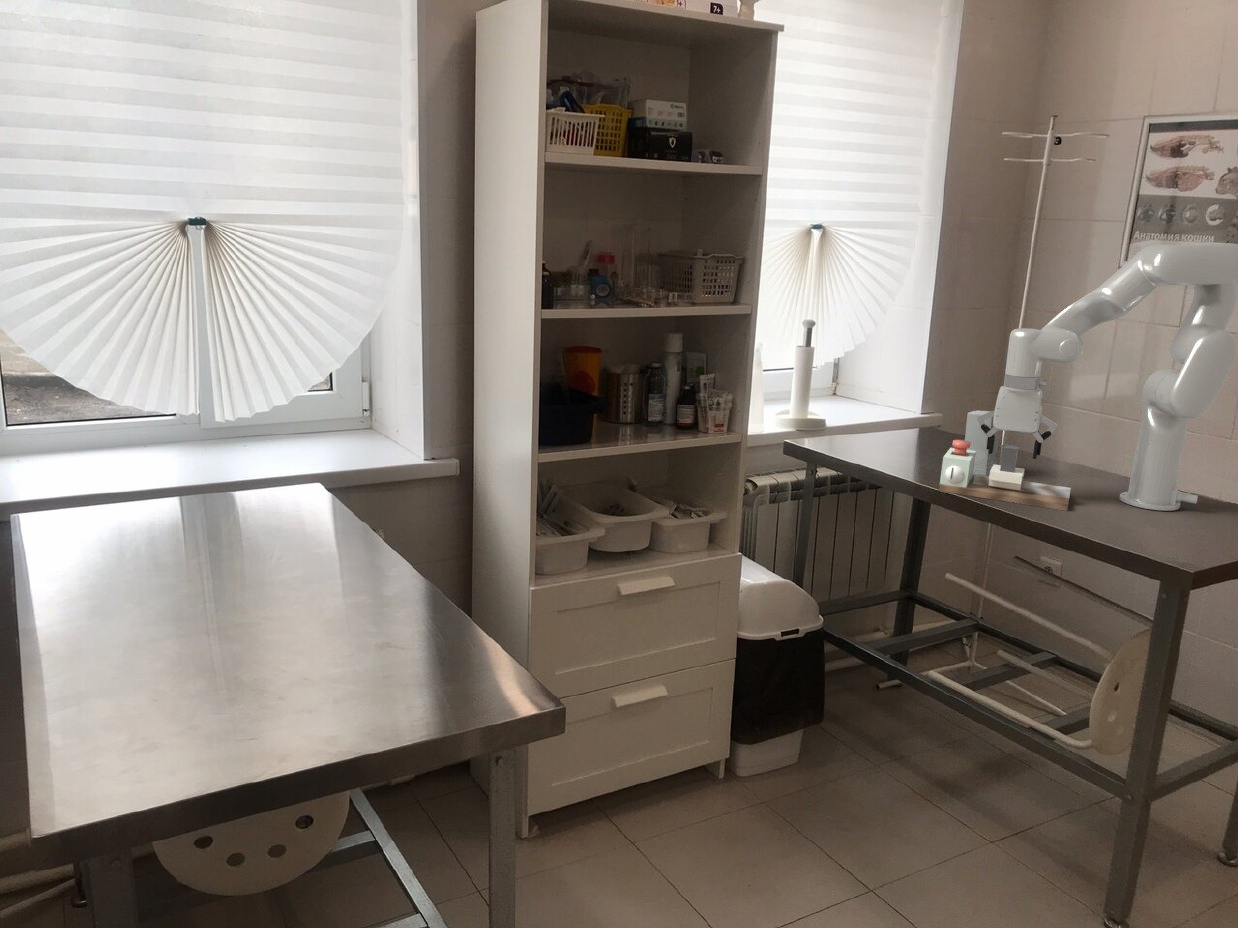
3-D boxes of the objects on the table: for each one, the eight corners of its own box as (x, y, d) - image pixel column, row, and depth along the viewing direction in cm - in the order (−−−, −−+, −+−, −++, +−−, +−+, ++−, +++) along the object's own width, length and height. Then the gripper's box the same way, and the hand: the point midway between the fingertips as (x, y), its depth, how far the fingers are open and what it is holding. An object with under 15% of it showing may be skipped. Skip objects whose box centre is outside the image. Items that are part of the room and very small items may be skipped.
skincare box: (986, 478, 247) (995, 416, 244) (957, 472, 252) (966, 411, 248) (996, 472, 254) (1005, 412, 250) (968, 467, 258) (977, 407, 254)
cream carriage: (1022, 484, 235) (1028, 445, 233) (1019, 491, 228) (1025, 452, 226) (991, 479, 238) (996, 441, 236) (987, 486, 231) (993, 447, 229)
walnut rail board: (1069, 496, 234) (1071, 482, 233) (1067, 510, 222) (1069, 495, 221) (946, 478, 246) (948, 464, 245) (938, 490, 233) (940, 476, 232)
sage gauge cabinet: (972, 476, 242) (976, 451, 240) (965, 488, 231) (969, 461, 229) (947, 473, 244) (950, 447, 243) (939, 484, 233) (943, 457, 232)
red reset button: (969, 454, 237) (971, 441, 236) (967, 457, 234) (969, 444, 233) (952, 451, 239) (954, 439, 238) (950, 455, 235) (951, 442, 235)
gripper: (1063, 384, 227) (1053, 456, 231) (983, 377, 234) (975, 447, 238) (1061, 388, 220) (1051, 463, 224) (980, 381, 228) (971, 454, 232)
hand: (1012, 455), depth 231 cm, fingers open, 9 cm apart
